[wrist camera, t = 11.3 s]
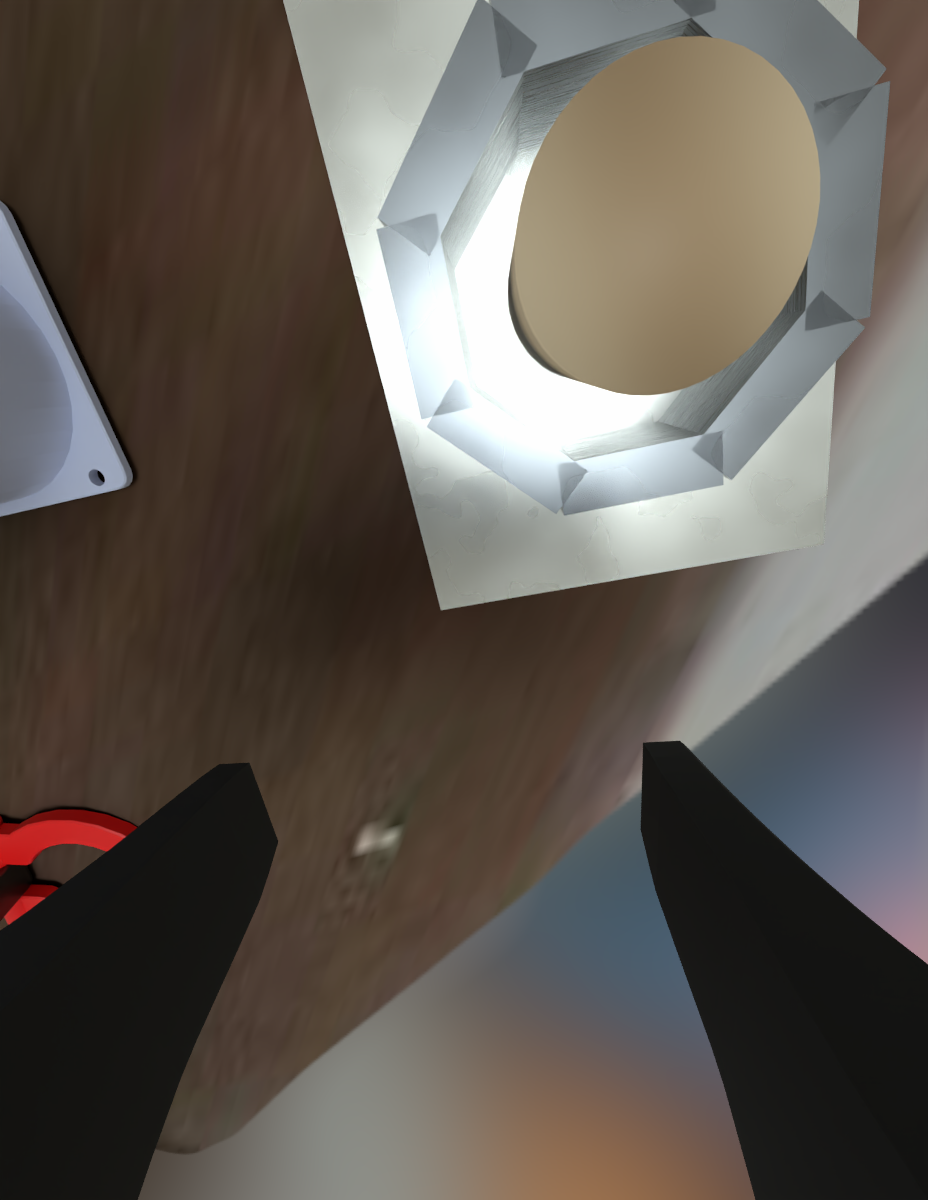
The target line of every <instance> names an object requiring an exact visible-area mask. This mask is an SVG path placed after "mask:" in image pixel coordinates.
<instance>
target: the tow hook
mask: <svg viewBox="0 0 928 1200" xmlns="http://www.w3.org/2000/svg"><path fill="white" fill-rule="evenodd" d="M136 828H137V827H136V826H134V825H133V824H131V823H129V822H126V821H123V820H120V819H118V818H115V817H112V816H110V815H107V814H102V813H97V812H91V811H86V810H54V811H49V812H44V813H40V814H36V815H35V816H33V817H31V818H29V819H27V820H25V821H23V822H22V823H21V824H11V823H4V822H3V820H2V818H1V816H0V921H1V920H2V919H3V918H4V917H5V919H6V921H7V923H8V925H9V924H11V923H12V922H13V921H15V920H16V919H18V918H19V917H20V916H22V915H23V914H25V913H26V912H27V911H29V910H30V909H31V908H33V907H34V906H35V905H37V904H38V903H39V902H41V901H42V900H43V899H45V898H46V897H47V896H49V895H50V894H51V893H53V892H54V891H55V890H57V889H58V887H55V886H53V885H32V881H33V877H32V875H31V873H30V870H29V868H28V866H27V865H29V864H30V863H32V862H33V861H34V860H35V858H36V857H37V856H38V855H39V854H40V853H41V852H42V850H44V849H46V848H47V847H49V846H54V845H59V844H81V845H87V846H92V847H96V848H98V849H101V850H104V851H108V850H110V849H111V848H112V847H113V846H115V845H116V844H117V843H118V842H120V841H121V840H122V839H124V838H125V837H126V836H127V835H129V834H130V833H131V832H132V831H134V830H135V829H136Z"/></svg>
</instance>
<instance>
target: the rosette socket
mask: <svg viewBox="0 0 928 1200" xmlns="http://www.w3.org/2000/svg"><path fill="white" fill-rule="evenodd" d="M283 2H284V6H285V9H286V13H287V17H288V21H289V25H290V29H291V33H292V36H293V40H294V44H295V48H296V52H297V56H298V60H299V64H300V67H301V71H302V75H303V79H304V83H305V87H306V91H307V94H308V98H309V102H310V106H311V110H312V114H313V118H314V122H315V125H316V129H317V133H318V137H319V141H320V145H321V149H322V152H323V156H324V160H325V164H326V168H327V172H328V176H329V179H330V183H331V187H332V191H333V195H334V199H335V203H336V207H337V210H338V214H339V218H340V222H341V226H342V230H343V234H344V237H345V241H346V245H347V249H348V253H349V257H350V261H351V265H352V268H353V272H354V276H355V280H356V284H357V288H358V292H359V295H360V299H361V303H362V307H363V311H364V315H365V319H366V322H367V326H368V330H369V334H370V338H371V342H372V346H373V350H374V353H375V357H376V361H377V365H378V369H379V373H380V377H381V380H382V384H383V388H384V392H385V396H386V400H387V404H388V407H389V411H390V415H391V419H392V423H393V427H394V431H395V435H396V438H397V442H398V446H399V450H400V454H401V458H402V462H403V465H404V469H405V473H406V477H407V481H408V485H409V489H410V493H411V496H412V500H413V504H414V508H415V512H416V516H417V520H418V523H419V527H420V531H421V535H422V539H423V543H424V547H425V550H426V554H427V558H428V562H429V566H430V570H431V574H432V578H433V581H434V585H435V589H436V593H437V597H438V601H439V605H440V608H441V610H445V609H451V608H457V607H463V606H469V605H474V604H480V603H486V602H492V601H498V600H503V599H509V598H515V597H521V596H527V595H532V594H538V593H544V592H550V591H556V590H562V589H567V588H573V587H579V586H585V585H591V584H596V583H602V582H608V581H614V580H620V579H625V578H631V577H637V576H643V575H649V574H655V573H660V572H666V571H672V570H678V569H684V568H689V567H695V566H701V565H707V564H713V563H718V562H724V561H730V560H736V559H742V558H748V557H753V556H759V555H765V554H771V553H777V552H782V551H788V550H794V549H800V548H806V547H811V546H817V545H823V544H824V534H825V518H826V503H827V487H828V472H829V456H830V441H831V425H832V410H833V394H834V379H835V363H836V360H837V359H838V358H839V357H840V356H841V355H842V353H843V352H844V351H845V350H846V349H847V348H848V346H849V345H850V344H851V343H852V342H853V341H854V340H855V338H856V337H857V336H858V335H859V334H860V333H861V332H862V330H863V329H864V328H865V327H864V326H862V325H861V324H860V323H859V322H858V321H857V320H858V319H862V318H866V317H870V310H871V298H872V287H873V275H874V264H875V252H876V240H877V229H878V217H879V206H880V194H881V182H882V171H883V159H884V147H885V136H886V124H887V113H888V101H889V89H890V81H889V82H885V83H882V84H878V85H875V84H876V82H877V81H878V80H879V78H880V77H881V76H882V74H883V73H884V71H885V70H886V68H885V67H884V66H883V65H882V64H881V63H880V62H879V61H878V60H877V59H876V58H875V57H874V56H873V55H872V54H871V53H870V52H869V51H868V50H867V49H866V48H865V47H864V46H863V45H862V44H861V43H860V42H859V41H858V40H857V39H856V38H857V23H858V7H859V0H283ZM688 36H705V37H712V38H719V39H724V40H727V41H730V42H733V43H736V44H739V45H742V46H744V47H746V48H748V49H750V50H751V51H753V52H755V53H757V54H758V55H760V56H762V57H763V58H764V59H765V60H767V61H768V62H769V63H770V64H771V65H773V66H774V67H775V68H776V69H777V70H778V71H779V72H780V73H781V74H782V75H783V77H784V78H785V79H786V80H787V81H788V83H789V84H790V85H791V86H792V87H793V89H794V91H795V92H796V94H797V96H798V98H799V99H800V101H801V103H802V105H803V106H804V108H805V111H806V113H807V116H808V119H809V121H810V124H811V126H812V129H813V133H814V137H815V142H816V146H817V150H818V158H819V167H820V203H819V211H818V218H817V225H816V229H815V233H814V237H813V241H812V245H811V249H810V252H809V255H808V257H807V260H806V263H805V266H804V269H803V271H802V273H801V275H800V277H799V280H798V282H797V284H796V286H795V288H794V290H793V292H792V294H791V295H790V297H789V299H788V300H787V302H786V304H785V305H784V307H783V309H782V310H781V312H780V313H779V315H778V316H777V317H776V319H775V320H774V321H773V323H772V324H771V325H770V327H769V328H768V329H767V330H766V332H765V333H764V334H763V335H762V336H761V337H760V338H759V339H758V340H757V341H756V342H755V343H754V345H753V346H752V347H750V348H749V349H748V350H747V351H746V352H745V353H744V354H743V355H741V356H740V357H739V358H738V359H737V360H736V361H734V362H733V363H731V364H730V365H728V366H727V367H726V368H724V369H723V370H721V371H720V372H718V373H716V374H715V375H713V376H711V377H709V378H707V379H706V380H704V381H702V382H699V383H697V384H694V385H692V386H690V387H687V388H684V389H681V390H677V391H673V392H670V393H665V394H657V395H650V396H632V395H625V394H618V393H613V392H610V391H607V390H603V389H600V388H597V387H594V386H590V385H587V384H584V383H581V382H578V381H575V380H572V379H569V378H566V377H562V376H559V375H557V374H555V373H553V372H551V371H549V370H547V369H546V368H544V367H543V366H541V365H540V364H539V363H538V362H537V361H535V360H534V359H533V358H532V357H531V355H530V354H529V353H528V352H527V351H526V349H525V348H524V346H523V345H522V343H521V342H520V340H519V338H518V336H517V334H516V332H515V329H514V326H513V323H512V320H511V316H510V311H509V306H508V277H509V270H510V263H511V257H512V251H513V245H514V239H515V233H516V227H517V221H518V215H519V208H520V204H521V200H522V196H523V192H524V188H525V184H526V181H527V178H528V175H529V172H530V170H531V167H532V164H533V161H534V159H535V157H536V155H537V153H538V151H539V149H540V147H541V145H542V143H543V141H544V138H545V136H546V135H547V133H548V132H549V130H550V129H551V127H552V125H553V124H554V122H555V121H556V119H557V118H558V116H559V114H560V113H561V112H562V111H563V109H564V108H565V107H566V106H567V105H568V103H569V102H570V101H571V100H572V98H573V97H574V96H575V95H576V94H577V93H578V92H579V91H580V90H581V89H582V88H583V87H584V86H585V85H586V84H587V83H588V82H589V81H590V80H591V79H592V78H593V77H594V76H596V75H597V74H598V73H600V72H601V71H602V70H603V69H605V68H606V67H607V66H609V65H610V64H611V63H613V62H614V61H616V60H618V59H620V58H621V57H623V56H625V55H627V54H629V53H630V52H632V51H634V50H636V49H639V48H641V47H644V46H647V45H649V44H652V43H654V42H657V41H662V40H667V39H671V38H676V37H688ZM874 85H875V86H874Z"/></svg>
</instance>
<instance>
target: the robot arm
mask: <svg viewBox="0 0 928 1200" xmlns="http://www.w3.org/2000/svg"><path fill="white" fill-rule="evenodd" d="M98 471H100V472H101V473H102V474H103V475H104V478H105V482H102V481H101V480H100V479H99V477H98V474H97V472H98ZM132 478H133V475H132V471H131V468H130V466H129V464H128V462H127V460H126V458H125V455H124V453H123V451H122V449H121V447H120V445H119V443H118V440H117V438H116V436H115V434H114V432H113V430H112V428H111V425H110V423H109V421H108V419H107V417H106V415H105V413H104V410H103V408H102V406H101V404H100V402H99V400H98V398H97V396H96V393H95V391H94V389H93V387H92V385H91V383H90V381H89V378H88V376H87V374H86V372H85V370H84V368H83V366H82V363H81V361H80V359H79V357H78V355H77V353H76V351H75V348H74V346H73V344H72V342H71V340H70V338H69V336H68V333H67V331H66V329H65V327H64V325H63V323H62V321H61V318H60V316H59V314H58V312H57V310H56V308H55V306H54V303H53V301H52V299H51V297H50V295H49V293H48V291H47V288H46V286H45V284H44V282H43V280H42V278H41V276H40V274H39V271H38V269H37V267H36V265H35V263H34V261H33V259H32V256H31V254H30V252H29V250H28V248H27V246H26V244H25V241H24V239H23V237H22V235H21V233H20V231H19V229H18V226H17V224H16V222H15V220H14V218H13V216H12V214H11V212H10V211H9V209H8V208H7V206H6V205H5V204H3V203H2V202H1V201H0V516H5V515H9V514H13V513H18V512H22V511H27V510H31V509H35V508H40V507H44V506H48V505H53V504H57V503H62V502H66V501H70V500H75V499H79V498H83V497H88V496H92V495H97V494H101V493H105V492H110V491H114V490H118V489H122V488H125V487H127V486H129V485H130V484H131V482H132ZM641 832H642V837H643V841H644V845H645V849H646V854H647V858H648V862H649V866H650V870H651V874H652V878H653V882H654V885H655V890H656V893H657V896H658V899H659V902H660V904H661V907H662V910H663V913H664V916H665V918H666V921H667V924H668V927H669V930H670V932H671V935H672V938H673V941H674V944H675V947H676V950H677V952H678V955H679V958H680V961H681V963H682V966H683V969H684V972H685V975H686V977H687V980H688V983H689V986H690V988H691V991H692V994H693V997H694V1000H695V1002H696V1005H697V1008H698V1011H699V1014H700V1016H701V1019H702V1022H703V1025H704V1027H705V1030H706V1033H707V1035H708V1039H709V1041H710V1044H711V1047H712V1050H713V1053H714V1056H715V1059H716V1062H717V1066H718V1069H719V1072H720V1075H721V1078H722V1081H723V1084H724V1087H725V1091H726V1094H727V1098H728V1101H729V1105H730V1108H731V1112H732V1116H733V1120H734V1123H735V1127H736V1131H737V1134H738V1137H739V1141H740V1144H741V1149H742V1152H743V1156H744V1159H745V1162H746V1167H747V1170H748V1174H749V1177H750V1181H751V1185H752V1189H753V1192H754V1196H755V1200H928V964H926V963H925V962H924V961H923V960H922V959H920V958H919V957H918V956H916V955H915V954H914V953H912V952H911V951H910V950H909V949H907V948H906V947H905V946H903V945H902V944H901V943H900V942H898V941H897V940H896V939H895V938H893V937H892V936H891V935H890V934H888V933H887V932H886V931H885V930H883V929H882V928H881V927H880V926H879V925H877V924H876V923H875V922H874V921H872V920H871V919H870V918H869V917H867V916H866V915H865V914H864V913H863V912H861V911H860V910H859V909H858V908H857V907H855V906H854V905H853V904H852V903H851V902H850V901H848V900H847V899H846V898H845V897H844V896H843V895H841V894H840V893H839V892H838V891H837V890H836V889H834V888H833V887H832V886H831V885H830V884H829V883H827V882H826V881H825V880H824V879H823V878H822V877H821V876H819V875H818V874H817V873H816V872H815V871H814V870H813V869H812V868H810V867H809V866H808V865H807V864H806V863H805V862H804V861H803V860H801V859H800V858H799V857H798V856H797V855H796V854H795V853H794V852H793V851H792V850H790V849H789V848H788V847H787V846H786V845H785V844H784V843H783V842H782V841H781V840H780V839H779V838H778V837H777V836H776V835H774V834H773V833H772V832H771V831H770V830H769V829H768V828H767V827H766V826H765V825H764V824H763V823H762V822H761V821H759V819H757V818H756V817H755V816H754V815H753V814H752V813H751V812H750V811H749V810H748V809H747V808H746V807H745V806H744V805H743V804H742V803H741V802H740V801H739V800H738V799H737V798H736V797H735V796H734V795H733V794H732V793H731V792H730V791H729V790H728V789H727V788H726V787H725V786H724V785H723V784H722V783H721V782H720V781H719V780H718V779H717V778H716V777H715V776H714V775H713V774H712V773H711V772H710V771H709V770H708V769H707V768H706V766H704V764H703V763H702V762H701V761H700V760H699V759H698V758H697V757H696V756H695V755H694V754H693V753H692V752H691V751H690V750H689V749H688V748H687V747H686V746H685V745H684V744H683V743H682V742H681V741H667V742H648V743H643V768H642V803H641ZM277 844H278V840H277V837H276V834H275V832H274V829H273V826H272V823H271V821H270V818H269V815H268V812H267V810H266V807H265V804H264V801H263V799H262V796H261V793H260V790H259V788H258V785H257V782H256V780H255V777H254V774H253V771H252V769H251V766H250V763H235V764H219V765H217V766H216V767H215V768H213V769H212V770H210V771H209V772H208V773H206V774H205V775H203V776H202V777H201V778H199V779H198V780H197V781H196V782H194V783H193V784H192V785H190V786H189V787H188V788H187V789H185V790H184V791H183V792H181V793H180V794H179V795H178V796H176V797H175V798H174V799H173V800H171V801H170V802H169V803H168V804H166V805H165V806H164V807H163V808H161V809H160V810H159V811H158V812H156V813H155V814H154V815H153V816H151V817H150V818H149V819H148V820H146V821H145V822H144V823H142V824H141V825H140V826H139V827H137V828H136V829H135V830H134V831H132V832H131V833H130V834H129V835H127V836H126V837H125V838H124V839H122V840H121V841H120V842H118V843H117V844H116V845H115V846H113V847H112V848H111V849H110V850H108V851H107V852H106V853H105V854H103V855H102V856H101V857H99V858H98V859H97V860H95V861H94V862H93V863H91V864H90V865H89V866H87V867H86V868H85V869H83V870H82V871H81V872H79V873H78V874H77V875H75V876H74V877H73V878H71V879H70V880H69V881H67V882H66V883H65V884H63V885H62V886H61V887H59V888H58V889H57V890H55V891H54V892H53V893H51V894H50V895H49V896H47V897H46V898H45V899H43V900H42V901H41V902H39V903H38V904H37V905H35V906H34V907H33V908H31V909H30V910H29V911H27V912H26V913H25V914H23V915H22V916H20V917H19V918H18V919H16V920H15V921H13V922H12V923H11V924H9V925H8V926H6V927H5V928H3V929H2V930H0V1200H138V1197H139V1194H140V1191H141V1188H142V1185H143V1182H144V1179H145V1176H146V1173H147V1170H148V1168H149V1165H150V1162H151V1159H152V1156H153V1153H154V1150H155V1148H156V1145H157V1142H158V1139H159V1137H160V1134H161V1131H162V1128H163V1126H164V1123H165V1120H166V1117H167V1115H168V1112H169V1109H170V1106H171V1104H172V1101H173V1098H174V1095H175V1093H176V1090H177V1087H178V1084H179V1082H180V1079H181V1076H182V1074H183V1072H184V1069H185V1067H186V1064H187V1062H188V1060H189V1057H190V1055H191V1052H192V1050H193V1047H194V1045H195V1043H196V1040H197V1038H198V1036H199V1034H200V1032H201V1029H202V1027H203V1025H204V1023H205V1021H206V1018H207V1016H208V1014H209V1012H210V1010H211V1007H212V1005H213V1003H214V1001H215V999H216V996H217V994H218V992H219V990H220V988H221V985H222V983H223V981H224V979H225V977H226V974H227V972H228V970H229V968H230V966H231V963H232V961H233V959H234V957H235V955H236V952H237V950H238V948H239V946H240V944H241V941H242V939H243V937H244V935H245V932H246V930H247V928H248V926H249V923H250V921H251V919H252V917H253V914H254V912H255V910H256V907H257V905H258V903H259V900H260V898H261V895H262V892H263V889H264V886H265V883H266V880H267V877H268V874H269V871H270V867H271V864H272V861H273V857H274V854H275V851H276V847H277Z"/></svg>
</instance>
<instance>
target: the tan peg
mask: <svg viewBox="0 0 928 1200" xmlns="http://www.w3.org/2000/svg"><path fill="white" fill-rule="evenodd" d="M819 203H820V167H819V158H818V150H817V146H816V142H815V137H814V133H813V129H812V126H811V124H810V121H809V119H808V116H807V113H806V111H805V108H804V106H803V105H802V103H801V101H800V99H799V98H798V96H797V94H796V92H795V91H794V89H793V87H792V86H791V85H790V84H789V83H788V81H787V80H786V79H785V78H784V77H783V75H782V74H781V73H780V72H779V71H778V70H777V69H776V68H775V67H774V66H773V65H771V64H770V63H769V62H768V61H767V60H765V59H764V58H763V57H762V56H760V55H758V54H757V53H755V52H753V51H751V50H750V49H748V48H746V47H744V46H742V45H739V44H736V43H733V42H730V41H727V40H724V39H719V38H712V37H705V36H688V37H676V38H671V39H667V40H662V41H657V42H654V43H652V44H649V45H647V46H644V47H641V48H639V49H636V50H634V51H632V52H630V53H629V54H627V55H625V56H623V57H621V58H620V59H618V60H616V61H614V62H613V63H611V64H610V65H609V66H607V67H606V68H605V69H603V70H602V71H601V72H600V73H598V74H597V75H596V76H594V77H593V78H592V79H591V80H590V81H589V82H588V83H587V84H586V85H585V86H584V87H583V88H582V89H581V90H580V91H579V92H578V93H577V94H576V95H575V96H574V97H573V98H572V100H571V101H570V102H569V103H568V105H567V106H566V107H565V108H564V109H563V111H562V112H561V113H560V114H559V116H558V118H557V119H556V121H555V122H554V124H553V125H552V127H551V129H550V130H549V132H548V133H547V135H546V136H545V138H544V141H543V143H542V145H541V147H540V149H539V151H538V153H537V155H536V157H535V159H534V161H533V164H532V167H531V170H530V172H529V175H528V178H527V181H526V184H525V188H524V192H523V196H522V200H521V204H520V208H519V215H518V221H517V227H516V233H515V239H514V245H513V251H512V257H511V263H510V270H509V277H508V306H509V311H510V316H511V320H512V323H513V326H514V329H515V332H516V334H517V336H518V338H519V340H520V342H521V343H522V345H523V346H524V348H525V349H526V351H527V352H528V353H529V354H530V355H531V357H532V358H533V359H534V360H535V361H537V362H538V363H539V364H540V365H541V366H543V367H544V368H546V369H547V370H549V371H551V372H553V373H555V374H557V375H559V376H562V377H566V378H569V379H572V380H575V381H578V382H581V383H584V384H587V385H590V386H594V387H597V388H600V389H603V390H607V391H610V392H613V393H618V394H625V395H632V396H650V395H657V394H665V393H670V392H673V391H677V390H681V389H684V388H687V387H690V386H692V385H694V384H697V383H699V382H702V381H704V380H706V379H707V378H709V377H711V376H713V375H715V374H716V373H718V372H720V371H721V370H723V369H724V368H726V367H727V366H728V365H730V364H731V363H733V362H734V361H736V360H737V359H738V358H739V357H740V356H741V355H743V354H744V353H745V352H746V351H747V350H748V349H749V348H750V347H752V346H753V345H754V343H755V342H756V341H757V340H758V339H759V338H760V337H761V336H762V335H763V334H764V333H765V332H766V330H767V329H768V328H769V327H770V325H771V324H772V323H773V321H774V320H775V319H776V317H777V316H778V315H779V313H780V312H781V310H782V309H783V307H784V305H785V304H786V302H787V300H788V299H789V297H790V295H791V294H792V292H793V290H794V288H795V286H796V284H797V282H798V280H799V277H800V275H801V273H802V271H803V269H804V266H805V263H806V260H807V257H808V255H809V252H810V249H811V245H812V241H813V237H814V233H815V229H816V225H817V218H818V211H819Z"/></svg>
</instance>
